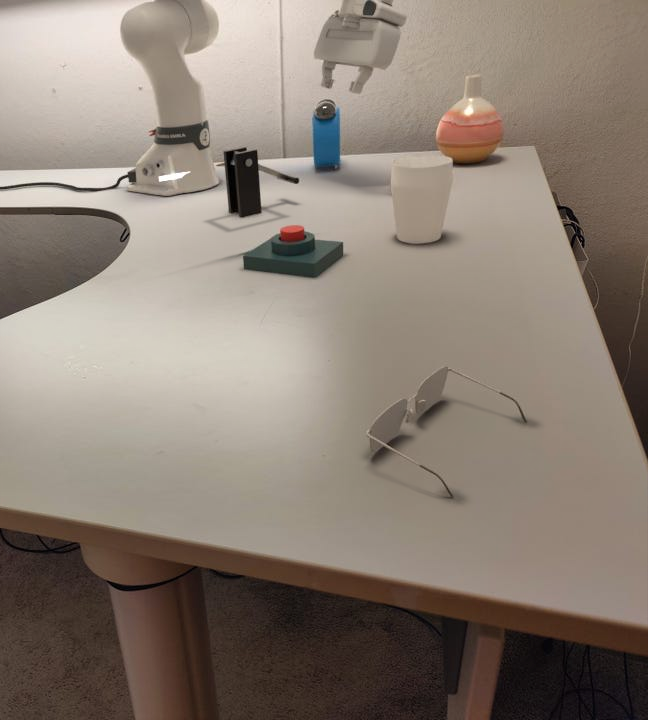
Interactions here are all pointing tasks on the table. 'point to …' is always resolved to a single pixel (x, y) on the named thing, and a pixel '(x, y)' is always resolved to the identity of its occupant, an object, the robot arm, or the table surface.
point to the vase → (470, 126)
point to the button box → (294, 256)
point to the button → (292, 233)
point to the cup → (421, 196)
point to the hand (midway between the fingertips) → (339, 90)
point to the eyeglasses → (424, 399)
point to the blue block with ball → (326, 134)
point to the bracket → (243, 182)
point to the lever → (273, 173)
